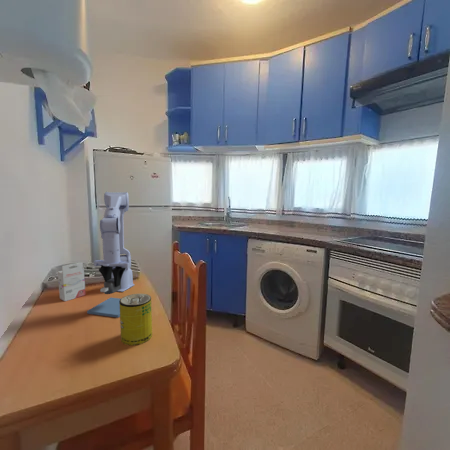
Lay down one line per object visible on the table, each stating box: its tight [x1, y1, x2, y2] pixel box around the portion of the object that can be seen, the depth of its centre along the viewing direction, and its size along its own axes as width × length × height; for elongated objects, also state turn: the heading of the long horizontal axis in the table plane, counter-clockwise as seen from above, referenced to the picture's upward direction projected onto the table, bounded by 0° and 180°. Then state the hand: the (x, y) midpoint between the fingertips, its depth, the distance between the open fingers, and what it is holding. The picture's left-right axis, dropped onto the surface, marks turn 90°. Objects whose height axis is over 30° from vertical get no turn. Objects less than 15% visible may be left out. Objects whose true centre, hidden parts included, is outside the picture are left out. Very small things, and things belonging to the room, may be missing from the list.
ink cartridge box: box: [57, 261, 86, 302], centre depth 111 cm, size 9×5×15 cm, turn 143°
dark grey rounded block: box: [100, 278, 121, 295], centre depth 99 cm, size 9×3×4 cm, turn 166°
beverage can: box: [119, 293, 153, 346], centre depth 80 cm, size 9×9×12 cm
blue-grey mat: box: [86, 297, 121, 319], centre depth 101 cm, size 13×13×1 cm
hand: (113, 285), depth 100 cm, fingers closed on dark grey rounded block, 3 cm apart
